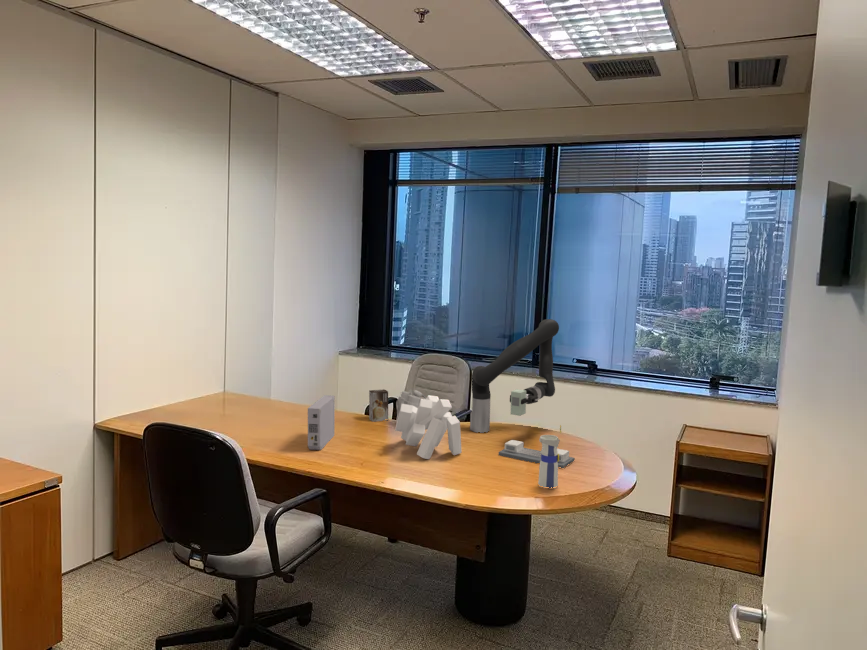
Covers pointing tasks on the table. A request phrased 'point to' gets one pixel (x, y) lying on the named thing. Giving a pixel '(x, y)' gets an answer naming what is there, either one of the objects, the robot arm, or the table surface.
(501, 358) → the robot arm
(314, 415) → the game console
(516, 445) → the rectangular blocks
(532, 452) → the mounting plate
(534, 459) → the grey board
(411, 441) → the white angular blocks
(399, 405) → the twin engine backpack
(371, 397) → the coffee box
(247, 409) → the table surface
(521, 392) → the tall block
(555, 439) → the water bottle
